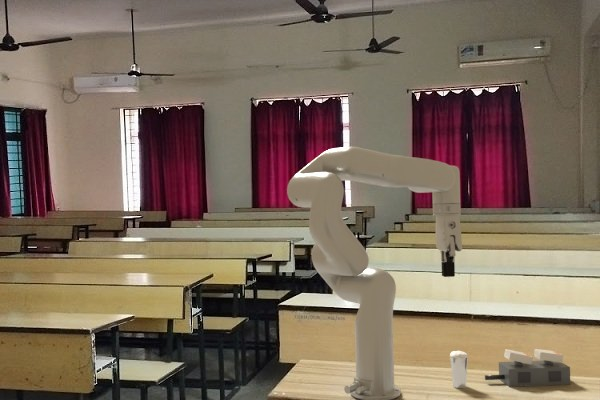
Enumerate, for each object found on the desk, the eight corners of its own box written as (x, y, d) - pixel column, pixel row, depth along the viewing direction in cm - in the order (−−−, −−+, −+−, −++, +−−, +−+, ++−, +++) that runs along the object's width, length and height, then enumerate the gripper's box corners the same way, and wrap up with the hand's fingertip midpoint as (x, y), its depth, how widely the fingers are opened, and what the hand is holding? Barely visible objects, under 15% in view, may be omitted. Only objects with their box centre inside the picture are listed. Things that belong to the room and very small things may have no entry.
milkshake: (472, 389, 152) (471, 350, 152) (450, 388, 153) (449, 349, 153) (471, 384, 157) (470, 346, 157) (450, 383, 158) (449, 345, 158)
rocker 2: (539, 359, 156) (540, 351, 156) (533, 356, 159) (534, 348, 159) (562, 362, 156) (563, 354, 156) (555, 358, 160) (556, 351, 160)
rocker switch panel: (490, 387, 153) (490, 367, 153) (481, 379, 161) (480, 359, 161) (570, 384, 154) (570, 364, 154) (557, 376, 161) (557, 356, 161)
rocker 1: (509, 359, 156) (510, 352, 156) (503, 356, 159) (505, 348, 159) (531, 364, 156) (532, 356, 156) (525, 360, 159) (527, 353, 159)
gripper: (468, 210, 159) (470, 279, 159) (452, 209, 174) (453, 272, 174) (440, 211, 159) (442, 280, 159) (426, 210, 174) (428, 273, 174)
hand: (448, 276), depth 166 cm, fingers closed
